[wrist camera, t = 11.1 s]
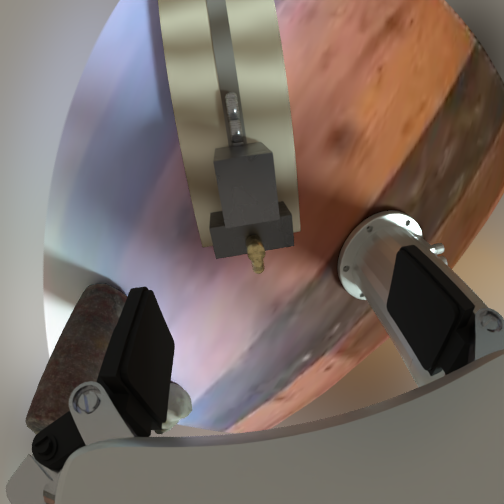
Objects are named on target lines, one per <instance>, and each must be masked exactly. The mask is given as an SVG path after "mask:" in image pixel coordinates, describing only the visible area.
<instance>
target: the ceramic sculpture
mask: <svg viewBox="0 0 504 504" xmlns="http://www.w3.org/2000/svg"><path fill="white" fill-rule="evenodd" d="M191 411H192V404H191V399H190V396H189V395H188V393H187V392H186V391H185V390H184V389H182V388H181V387H180V386H179V385H177V384H174V383H170V391H169V400H168V411H167V420H166V422H165V423H162V430H154V431H155V432H156V433H157V434H162V433H164V432H167V431H169V430H170V429H171V428H172V427H173V426H175V424H177V423H178V422H179V420H180V419H181V418H185V417H187V416H188V415H189V414H190V412H191Z"/></svg>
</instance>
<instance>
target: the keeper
mask: <svg viewBox="0 0 504 504" xmlns="http://www.w3.org/2000/svg"><path fill="white" fill-rule="evenodd" d="M278 206H279V216H280V220H274V221H268V222H262V223H255V224H249V225H243V226H237V227H231V228H225V223H224V217H223V212H222V211H218V212H213V213H210V225H209V230H210V234H211V239H212V243H213V248H214V252H215V256H216V259H218V258H224V257H230V256H236V255H242V254H248V257H249V259H250V260H251V262H252V268H253V271H254V272H255V273H257V274H260V273H262V272H263V271H264V261H263V258H264V257H265V251H266V250H272V249H278V248H284V247H290V246H294V236H293V221H292V214H291V212H290V211H289V209H288V208H287V206H286V204H285V203H284V201H281V202H278Z"/></svg>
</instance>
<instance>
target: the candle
mask: <svg viewBox="0 0 504 504" xmlns="http://www.w3.org/2000/svg"><path fill="white" fill-rule="evenodd" d="M126 299H127V296H126V295H125V294H123V293H121V292H120V291H119V290H117V289H115V288H113V287H112V286H109V285H107V284H96V285H91V286H89V287H88V288H86V290H85V291H84V292H83V294H82V296H81V298H80V299H79V301H78V303H77V304H76V306H75V308H74V310H73V312H72V314H71V316H70V318H69V319H68V321H67V323H66V325H65V328H64V329H63V331H62V334H61V336H60V337H59V340H58V342H57V344H56V346H55V348H54V351H53V353H52V355H51V357H50V359H49V361H48V364H47V366H46V369H45V371H44V373H43V375H42V377H41V380H40V382H39V385H38V388H37V390H36V393H35V395H34V398H33V400H32V403H31V406H30V409H29V411H28V414H27V417H26V424H27V427H28V428H30V429H31V430H32V431H34V433H35V434H38V433H39V432H40V431H41V430H43V429H44V428H46V427H47V426H48V425H50V424H51V423H53V422H54V421H55V420H57V419H58V418H60V417H61V416H62V415H64V414H65V413H67V412H68V411H69V410H70V409H69V398H70V395H71V393H72V392H73V390H74V389H75V388H76V387H77V386H79V385H80V384H82V383H84V382H89V381H92V382H96V381H97V378H98V375H99V372H100V368H101V365H102V362H103V359H104V356H105V353H106V350H107V347H108V344H109V342H110V339H111V336H112V333H113V331H114V328H115V326H116V325H117V323H118V320H119V317H120V315H121V312H122V309H123V307H124V304H125V302H126Z"/></svg>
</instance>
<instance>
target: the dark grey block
mask: <svg viewBox="0 0 504 504" xmlns="http://www.w3.org/2000/svg"><path fill="white" fill-rule="evenodd" d="M225 102H226V108H227V115H228V121H229V128H230V134H231V141H232V145H233V146H228V147H222V148H216V149H215V153H214V160H213V163H214V169H215V174H216V180H217V185H218V191H219V196H220V201H221V207H222V212H223V217H224V223H225V228H231V227H237V226H243V225H249V224H255V223H262V222H268V221H274V220H280V216H279V206H278V196H277V186H276V177H275V168H274V159H273V152H272V151H271V150H269V149H268V148H267V147H266V146H265V145H264V144H263V143H262V142H254V143H247V144H243V143H244V141H243V134H242V127H241V120H240V113H239V107H238V100H237V95H236V94H235V93H233V92H229V93H227V94H226V96H225Z"/></svg>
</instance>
